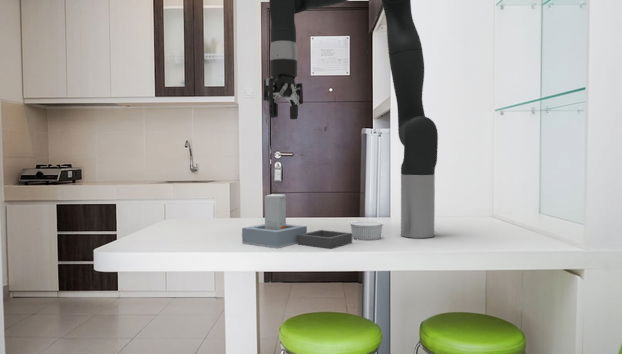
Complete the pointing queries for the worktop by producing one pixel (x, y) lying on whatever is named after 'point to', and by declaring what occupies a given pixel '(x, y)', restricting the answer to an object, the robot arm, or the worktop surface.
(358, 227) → the ramekin
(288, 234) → the blue-grey square tray
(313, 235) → the dark grey square tray
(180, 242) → the worktop surface
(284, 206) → the skincare box
